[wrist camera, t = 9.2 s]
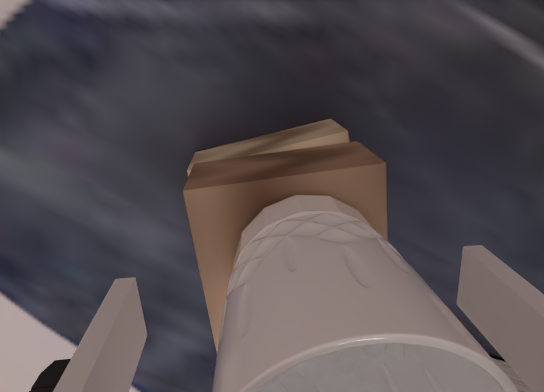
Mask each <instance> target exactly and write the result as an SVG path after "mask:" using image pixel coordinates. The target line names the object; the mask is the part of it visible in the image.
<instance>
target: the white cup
mask: <svg viewBox="0 0 544 392" xmlns="http://www.w3.org/2000/svg"><path fill="white" fill-rule="evenodd" d="M212 392H519V391H518V390H517V388H516V386H515V385H514V383H513V382H512V381H511V379H510V378H509V377H508V376H507V375H506V374H505V372H504V371H503V370H502V369H501V368H500V367H499V366H498V364H497V363H496V362H495V361H494V360H493V359H492V358H491V357H490V355H489V354H488V353H487V352H486V351H485V350H484V349H483V347H482V346H481V345H480V344H479V343H478V342H477V341H476V339H475V338H474V337H473V336H472V335H471V334H470V333H469V331H468V330H467V329H466V328H465V327H464V326H463V324H462V323H461V322H460V321H459V320H458V319H457V317H456V316H455V315H454V314H453V313H452V312H451V311H450V309H449V308H448V307H447V306H446V305H445V304H444V302H443V301H442V300H441V299H440V298H439V297H438V295H437V294H436V293H435V292H434V291H433V290H432V289H431V287H430V286H429V285H428V284H427V283H426V282H425V280H424V279H423V278H422V277H421V276H420V275H419V274H418V273H417V272H416V271H415V270H414V269H413V268H412V267H411V266H410V264H409V263H408V262H407V261H406V260H405V259H404V258H403V257H402V256H401V255H400V254H399V253H398V252H397V250H396V249H395V248H394V247H393V246H392V245H391V244H390V243H389V242H388V241H387V240H386V239H385V238H383V237H382V236H381V235H380V234H379V233H377V232H376V231H375V230H374V229H373V228H372V227H371V225H370V224H369V223H368V222H367V220H366V219H365V218H364V217H363V215H362V214H361V213H360V212H359V211H358V210H357V209H355V208H353V207H351V206H349V205H347V204H345V203H343V202H341V201H339V200H337V199H335V198H333V197H331V196H323V195H294V196H292V197H289V198H287V199H284V200H282V201H279V202H277V203H275V204H272V205H270V206H267V207H265V208H264V209H263V210H262V211H261V212H260V213H259V214H258V215H257V216H256V217H255V218H254V219H253V220H252V221H251V223H250V224H249V225H248V226H247V227H246V228H245V229H244V230H243V231H242V234H241V237H240V241H239V244H238V248H237V251H236V255H235V258H234V263H233V271H232V274H231V276H230V280H229V284H228V290H227V296H226V301H225V306H224V311H223V317H222V323H221V330H220V337H219V344H218V351H217V358H216V365H215V372H214V379H213V386H212Z"/></svg>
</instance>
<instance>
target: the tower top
mask: <svg viewBox="0 0 544 392" xmlns="http://www.w3.org/2000/svg"><path fill="white" fill-rule="evenodd" d="M183 195H184V200H185V204H186V209H187V214H188V219H189V223H190V228H191V233H192V238H193V242H194V247H195V252H196V256H197V261H198V266H199V271H200V275H201V280H202V285H203V290H204V294H205V299H206V304H207V309H208V313H209V318H210V323H211V328H212V332H213V337H214V342H215V346H216V351H218V344H219V337H220V330H221V323H222V317H223V311H224V306H225V301H226V296H227V290H228V284H229V280H230V276H231V274H232V271H233V263H234V258H235V255H236V251H237V248H238V244H239V241H240V237H241V234H242V231H243V230H244V229H245V228H246V227H247V226H248V225H249V224H250V223H251V221H252V220H253V219H254V218H255V217H256V216H257V215H258V214H259V213H260V212H261V211H262V210H263V209H264V208H265V207H267V206H270V205H272V204H275V203H277V202H279V201H282V200H284V199H287V198H289V197H292V196H294V195H323V196H331V197H333V198H335V199H337V200H339V201H341V202H343V203H345V204H347V205H349V206H351V207H353V208H355V209H357V210H358V211H359V212H360V213H361V214H362V215H363V217H364V218H365V219H366V220H367V222H368V223H369V224H370V225H371V227H372V228H373V229H374V230H375V231H376V232H377V233H379V234H380V235H381V236H382V237H383V238H385V239H386V240H387V241H388V239H387V186H386V162H384V161H383V160H382V159H380V158H379V157H378V156H376V155H375V154H374V153H372V152H371V151H370V150H369V149H367V148H366V147H365V146H363V145H362V144H361V143H359V142H358V141H356V142H348V143H341V144H334V145H326V146H319V147H311V148H304V149H297V150H289V151H282V152H274V153H267V154H260V155H252V156H245V157H237V158H230V159H223V160H215V161H208V162H201V163H194V165H193V167H192V169H191V172H190V174H189V177H188V179H187V181H186V184H185V186H184V189H183Z"/></svg>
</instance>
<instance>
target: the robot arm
mask: <svg viewBox="0 0 544 392" xmlns="http://www.w3.org/2000/svg"><path fill="white" fill-rule="evenodd" d="M457 305H458V306H459V308H460V309H461V310H462V311H463V312H464V313H465V315H466V316H467V317H468V318H469V319H470V320H471V322H472V323H473V324H474V325H475V326H476V327H477V329H478V330H479V331H480V332H481V333H482V334H483V335H484V337H485V338H486V339H487V340H488V341H489V342H490V344H491V345H492V346H493V347H494V348H495V349H496V351H497V352H498V353H499V354H500V355H501V356H502V358H503V359H504V360H505V361H506V362H507V363H508V364H509V366H510V367H511V368H512V369H513V370H514V371H515V373H516V374H517V375H518V376H519V377H520V378H521V380H522V381H523V382H524V383H525V384H526V385H527V387H528V388H529V389H530V390H531V391H532V392H544V294H542V293H541V292H540V291H539V290H537V289H536V288H535V287H534V286H532V285H531V284H530V283H529V282H527V281H526V280H525V279H524V278H522V277H521V276H520V275H519V274H517V273H516V272H515V271H513V270H512V269H511V268H510V267H508V266H507V265H506V264H505V263H503V262H502V261H501V260H500V259H498V258H497V257H496V256H495V255H493V254H492V253H491V252H490V251H488V250H487V249H486V248H485V247H483V246H482V245H477V246H466V247H463V253H462V262H461V270H460V279H459V288H458V296H457ZM146 338H147V331H146V327H145V322H144V317H143V312H142V307H141V303H140V298H139V293H138V288H137V283H136V279H135V277H133V278H122V279H115V281H114V282H113V284H112V286H111V288H110V290H109V291H108V293H107V295H106V297H105V299H104V300H103V302H102V304H101V306H100V308H99V309H98V311H97V313H96V315H95V317H94V318H93V320H92V322H91V324H90V326H89V328H88V329H87V331H86V333H85V335H84V337H83V338H82V340H81V342H80V344H79V346H78V347H77V349H76V351H75V353H74V355H73V356H72V358H71V359H66V360H56V361H54V362H53V363H52V364H50V365H49V366H48V367H47V368H46V369H45V370H44V371H43V372H42V373H41V374H40V375H39V377H38V379H37V380H36V382H35V383H34V385H33V386H32V388H31V391H29V392H129V389H130V386H131V383H132V380H133V377H134V374H135V371H136V368H137V365H138V362H139V359H140V356H141V353H142V350H143V347H144V344H145V341H146Z"/></svg>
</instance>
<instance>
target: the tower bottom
mask: <svg viewBox="0 0 544 392" xmlns="http://www.w3.org/2000/svg"><path fill="white" fill-rule="evenodd" d="M348 142H349V136H348V131H347V130H346V129H345V128H343V127H342V126H340V125H339V124H338V123H336V122H335V121H333V120H332V119H327V120H323V121H319V122H315V123H311V124H307V125H303V126H299V127H295V128H291V129H287V130H283V131H279V132H275V133H271V134H267V135H263V136H259V137H255V138H251V139H247V140H243V141H239V142H235V143H231V144H227V145H223V146H219V147H215V148H211V149H207V150H203V151H199V152H195V154H194V156H193V158H192V160H191V163H190V165H189V167H188V169H187V173H188V176H189V174H190V172H191V169H192V167H193V165H194V163H201V162H208V161H215V160H223V159H230V158H237V157H245V156H252V155H260V154H267V153H274V152H282V151H289V150H297V149H304V148H311V147H319V146H326V145H334V144H341V143H348Z"/></svg>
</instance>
